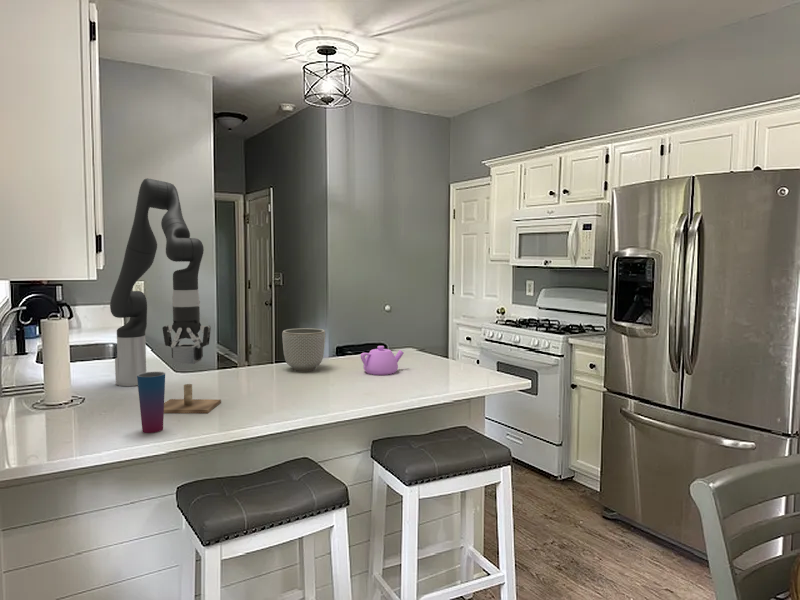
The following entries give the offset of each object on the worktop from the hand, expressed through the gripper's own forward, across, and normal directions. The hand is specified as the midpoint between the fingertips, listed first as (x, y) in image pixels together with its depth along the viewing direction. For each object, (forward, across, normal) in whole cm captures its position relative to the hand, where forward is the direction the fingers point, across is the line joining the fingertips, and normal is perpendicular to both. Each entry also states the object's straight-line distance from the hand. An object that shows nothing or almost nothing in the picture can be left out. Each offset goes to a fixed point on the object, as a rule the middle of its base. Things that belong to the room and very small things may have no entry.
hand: (187, 359), depth 169 cm
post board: (+15, 0, 0) cm, 15 cm away
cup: (+15, -1, -22) cm, 27 cm away
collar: (+1, 0, 0) cm, 1 cm away
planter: (+15, +25, +58) cm, 65 cm away
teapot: (+15, +57, +55) cm, 81 cm away
